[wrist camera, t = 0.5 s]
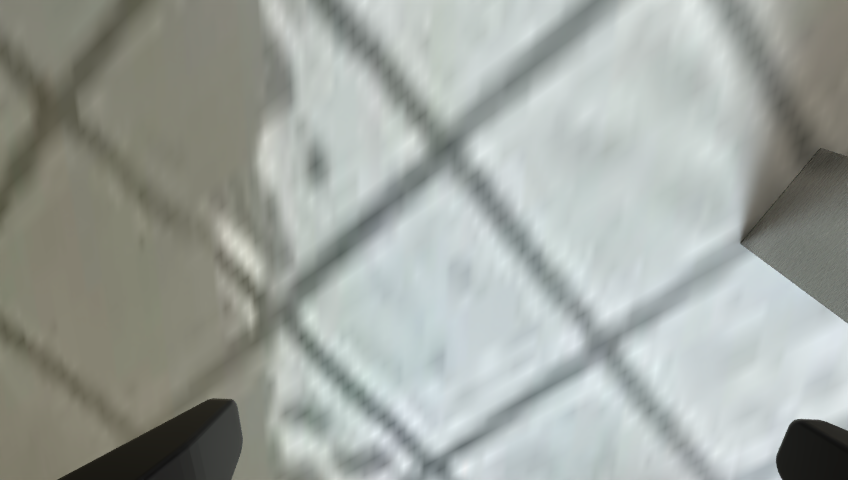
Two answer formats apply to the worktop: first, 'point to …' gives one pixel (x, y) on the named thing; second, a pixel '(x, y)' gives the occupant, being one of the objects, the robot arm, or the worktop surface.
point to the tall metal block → (810, 232)
